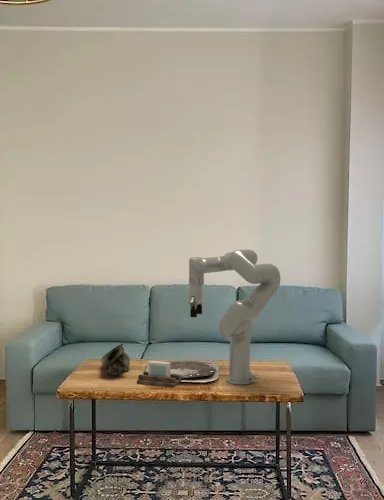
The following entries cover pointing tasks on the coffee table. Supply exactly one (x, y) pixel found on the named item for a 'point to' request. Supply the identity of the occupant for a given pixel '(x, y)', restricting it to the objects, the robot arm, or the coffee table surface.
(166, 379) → the picture ledge
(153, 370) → the picture frame
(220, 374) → the coffee table surface
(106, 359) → the hollow geode rock
